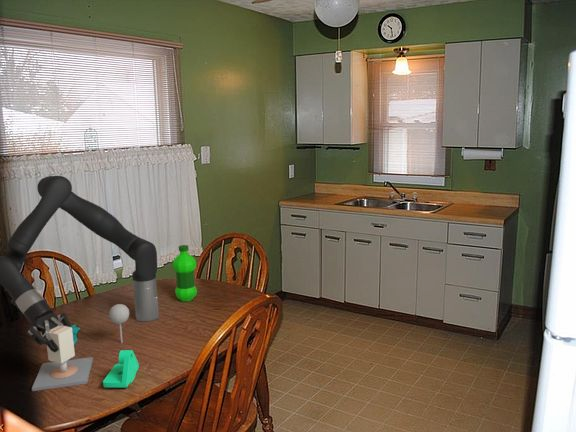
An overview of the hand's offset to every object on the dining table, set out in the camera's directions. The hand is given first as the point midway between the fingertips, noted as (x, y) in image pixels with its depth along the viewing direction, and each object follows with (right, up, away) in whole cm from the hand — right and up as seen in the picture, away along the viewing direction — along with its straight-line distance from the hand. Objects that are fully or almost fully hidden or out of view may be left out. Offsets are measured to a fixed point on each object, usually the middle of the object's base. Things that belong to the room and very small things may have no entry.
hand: (64, 346), depth 163 cm
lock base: (-1, -10, +3) cm, 11 cm away
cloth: (-12, -5, +29) cm, 32 cm away
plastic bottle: (+26, +4, +66) cm, 72 cm away
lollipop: (+10, -5, +25) cm, 28 cm away
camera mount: (+19, -11, 0) cm, 22 cm away
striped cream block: (-2, -4, +2) cm, 5 cm away
